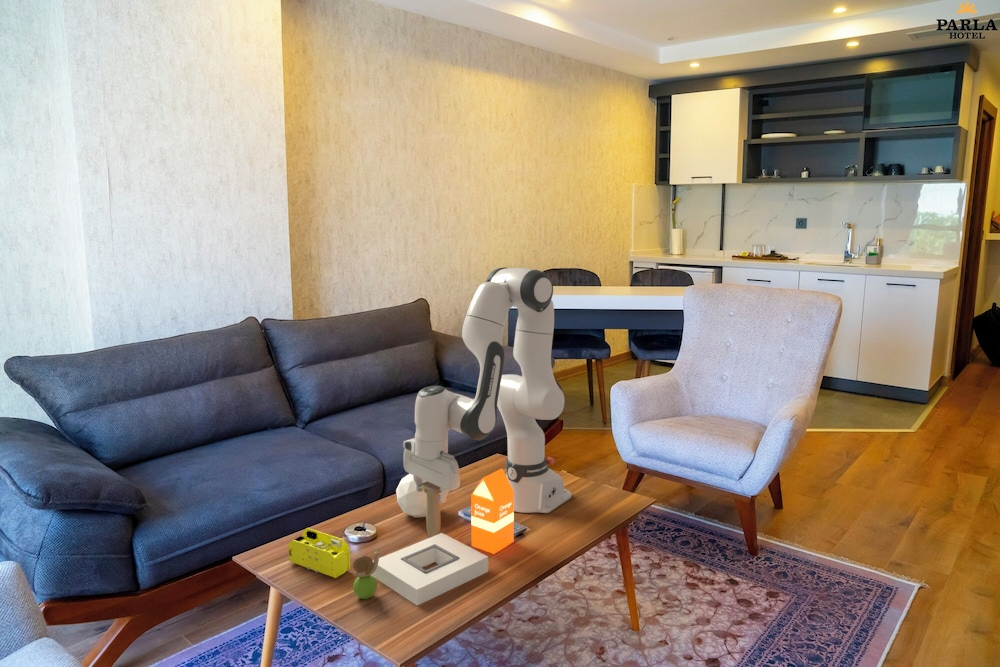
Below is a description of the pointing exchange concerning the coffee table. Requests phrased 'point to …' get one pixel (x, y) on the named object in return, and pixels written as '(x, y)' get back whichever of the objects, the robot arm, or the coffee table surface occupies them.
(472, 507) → the orange juice
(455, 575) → the socket board
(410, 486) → the geodesic sphere
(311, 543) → the yellow toy chassis
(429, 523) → the handle
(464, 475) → the coffee table surface
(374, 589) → the snail figurine
